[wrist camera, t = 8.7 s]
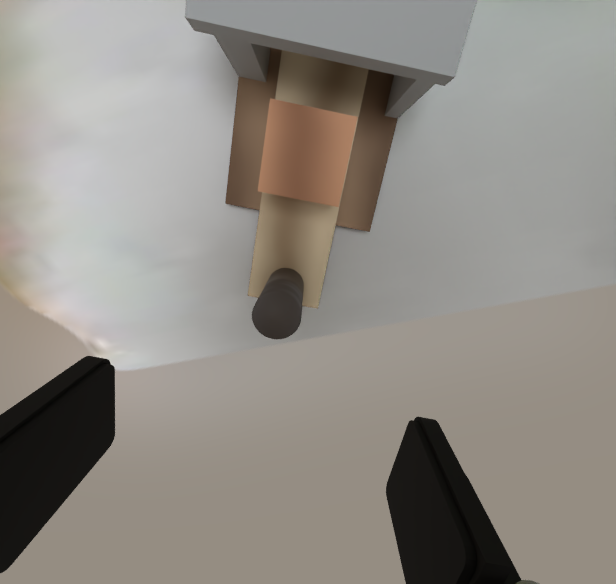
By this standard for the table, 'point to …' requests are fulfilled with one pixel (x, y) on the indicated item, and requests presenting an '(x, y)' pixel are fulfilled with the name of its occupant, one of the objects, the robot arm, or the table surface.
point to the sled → (301, 186)
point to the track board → (363, 160)
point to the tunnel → (344, 37)
